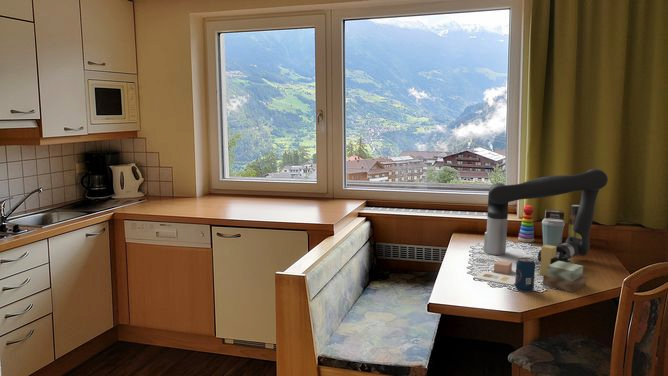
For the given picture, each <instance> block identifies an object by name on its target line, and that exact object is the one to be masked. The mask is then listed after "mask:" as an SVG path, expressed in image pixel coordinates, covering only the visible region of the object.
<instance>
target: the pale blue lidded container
mask: <svg viewBox="0 0 668 376" xmlns="http://www.w3.org/2000/svg"><path fill="white" fill-rule="evenodd" d="M546 218H550V219H559V220H563V221H564V222H565V211H564V210H560V209H559V210H558V209H549V208H548V209H547V208H545V213H544V219H546ZM563 233H564V231H563V232H562V236H561V239H560V243H559V244H562V243H563Z"/></svg>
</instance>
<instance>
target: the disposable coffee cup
mask: <svg viewBox="0 0 668 376" xmlns="http://www.w3.org/2000/svg"><path fill="white" fill-rule="evenodd" d="M565 226H566V223H565V220H564V221H563V220H559V219H550V218H546V219H545V218H543V219H542V221H541V228H542V243H543V245H542V246H544V245H551V246H557V245H559V244H561V243H560V239H561V236H562V237H563V235H562V232H563V233H564V227H565Z"/></svg>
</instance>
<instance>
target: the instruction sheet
mask: <svg viewBox="0 0 668 376" xmlns="http://www.w3.org/2000/svg"><path fill="white" fill-rule="evenodd" d="M473 278H474V279H477V280H482V281H487V282H493V283H498V284H501V285H502V284H503V285H506V286H507V285H508V286H515V278H516V275H515V276H514V275H510V274H508V275H507V274H501V273H495V272H494V271H492V272H491V271H487V270H482V271H481V272H480V273H478V274H477V275H475V276H473Z"/></svg>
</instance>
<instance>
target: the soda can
mask: <svg viewBox="0 0 668 376" xmlns="http://www.w3.org/2000/svg"><path fill="white" fill-rule="evenodd" d="M515 265H516V267H515V277H516V278H515V284H514V286H515V289H516V290H517V291H520V292H523V293H524V292H525V293H526V292H527V293H528V292H532V291H533V290H534V287H535V276H536V275H535V274H536V262H535V260H534V259H533V258H531V257H523V256H522V257H519V258H518V260H517V261H516V263H515Z"/></svg>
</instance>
